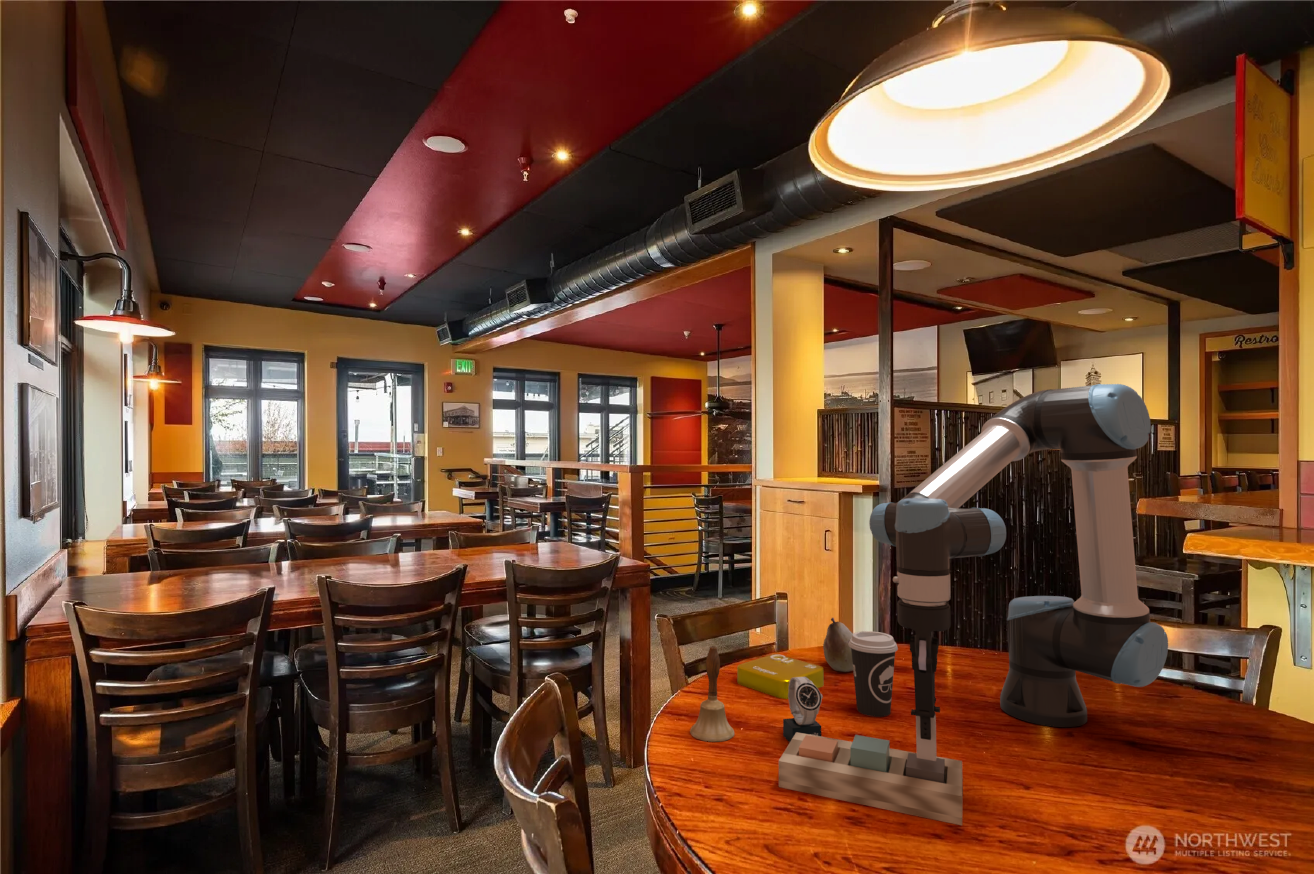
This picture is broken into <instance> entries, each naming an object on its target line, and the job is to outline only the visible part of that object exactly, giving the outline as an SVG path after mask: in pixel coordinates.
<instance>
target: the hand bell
mask: <svg viewBox="0 0 1314 874" xmlns="http://www.w3.org/2000/svg"><path fill="white" fill-rule="evenodd" d="M720 661H721V660H720V656H719V652H718V648H717V646H716V645H715V646H714V645H711V646H709V650H708V653H707V657H706V661H705V667H706V668H705V669H706V675H707V679H708V689H707V690H708V691H707V692H708V693H707V699H706V700H702V702H701V703H700V707H699V713H698V718H697V720H696V721H695V723H694V724H693V725H692V726H691V728H690V730H689V733H690V735H691V736H692V737H693V738H695V739H696V740H699V741H702V742H703V741H704V742H707V741H708V743H711V742H712V743H720V742H726V741H729V740H730V739H732V738H734V737H735V730H734V728H733V727H732V726H731V725H730V724H729V722H728V719H727V716H726V710H725V709H726V708H725V705H724V703H723V701H720V700H719V699H718V678H719V674H720V670H721V669H720V668H721V662H720Z"/></svg>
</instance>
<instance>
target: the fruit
mask: <svg viewBox="0 0 1314 874" xmlns="http://www.w3.org/2000/svg"><path fill="white" fill-rule="evenodd" d="M830 620H831V622H832V623H830V624H829V625H828V626H827V630H826V635H825V637H824V640H823V644H822V645H823V646H822V647H823V648H822V649H823V656H824V660H825V661H826V662H827V664H828V665H829V667H831V669H833V670H834V671H836V672H843V673H849V672H853V662H852V652H851V647H849V641H850V639H851V638H852V635H853V634H854V632H852V631H851V630H850V629H849V628H848V626H846V625H845V624H844V623H843V622H841V621H836V620H835V618H834V617H831V619H830Z"/></svg>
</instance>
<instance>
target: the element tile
mask: <svg viewBox="0 0 1314 874" xmlns="http://www.w3.org/2000/svg"><path fill="white" fill-rule="evenodd" d="M736 669H737V675H736V681H737V684H738V685H739V686H742V687H745V688H748V689H751V688H752V690H754V691H757V692H760V693H763V694H766V695H768V696H772V697H775V698H778V699H783V700H789V699H788V693H789V682H790V680H791V678H793V677H807V678H808V679H809V680H810V681H812V683H813V684H814V685H815V686H816V687H817V688H818V689H820V688H823V687H824V686H825V684H824V680H825V679H824V678H825V677H824V675H825V674H824V670H825V669H824V667H823V666H822V665H818V664H815V663H810V662H806V661H803V660H800V659H796V658H792V657H789V656H786V655H783V654H779V653H772V654H770V655H769V654H768V655H765V656H763V657H760V658H756V659H752V660H750V661H745V662H742V663H739V664H738V665H737V667H736Z"/></svg>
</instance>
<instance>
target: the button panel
mask: <svg viewBox="0 0 1314 874" xmlns="http://www.w3.org/2000/svg"><path fill="white" fill-rule="evenodd" d="M806 735H808V736H814V737H820V738H826V739H831V740H837V741H838V755H837V758H836V760H835V762H834V763H833V762H828V761H823V760H817V759H812V758H807V757H801V756H799V746H800V744H801V743H802V741H803V739H804V737H805V736H806ZM852 742H853V741H851V740H849V741H848V740H843V739H839V738H833V737H826V736H822V735H821V736H815V735H810V734H804V733H798V732H796V734H795V735H794V737H793V738H792V740H791V742H790V743H789V742H788V745H787V747H786V748H785V750H784V752H783V753H782V754H781V756H780V758H779V759H778V787H779V788H782V789H786V790H792V791H795V792H796V791H797V792H801V793H805V794H811V795H816V796H821V797H825V798H829V799H835V800H840V801H843V802H844V801H845V802H848V803H853V804H859V805H864V806H868V807H873V808H877V809H883V810H888V811H892V812H896V813H901V814H905V815H910V816H916V817H920V818H925V819H929V820H934V821H940V822H944V823H949V824H954V825H959V826H963V796H964V794H963V793H964V792H963V788H964V787H963V786H964V785H963V782H964V781H963V760H959V759H954V758H948V757H942V756H937V755H936V758H941V759H945V783H940V782H934V781H929V780H924V779H918V778H913V777H908V776H906V763H907V758H908V753H912V754H917V752H912V751H906V750H901V749H895V748H890V767H889V771H888V773H886V772H881V771H876V770H870V769H865V768H860V767H854V766H851V754H850V747H851V745H852Z"/></svg>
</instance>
